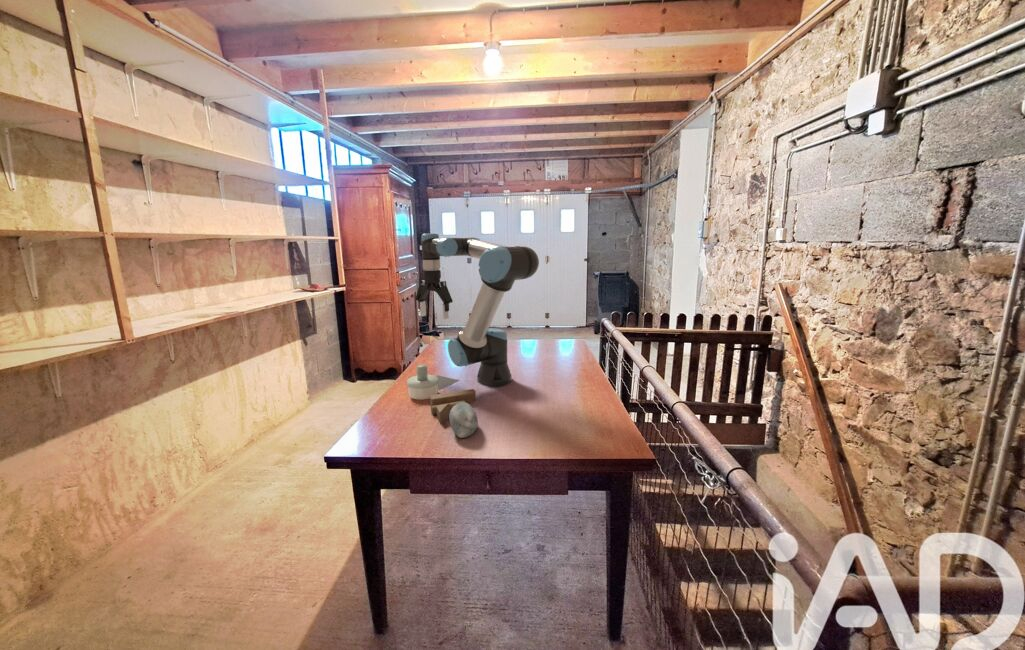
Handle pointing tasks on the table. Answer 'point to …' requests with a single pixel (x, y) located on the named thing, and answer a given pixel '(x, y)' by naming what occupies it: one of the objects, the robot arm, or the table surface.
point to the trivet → (445, 381)
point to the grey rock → (463, 420)
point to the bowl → (422, 392)
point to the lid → (422, 379)
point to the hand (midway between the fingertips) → (434, 317)
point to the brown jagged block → (449, 402)
